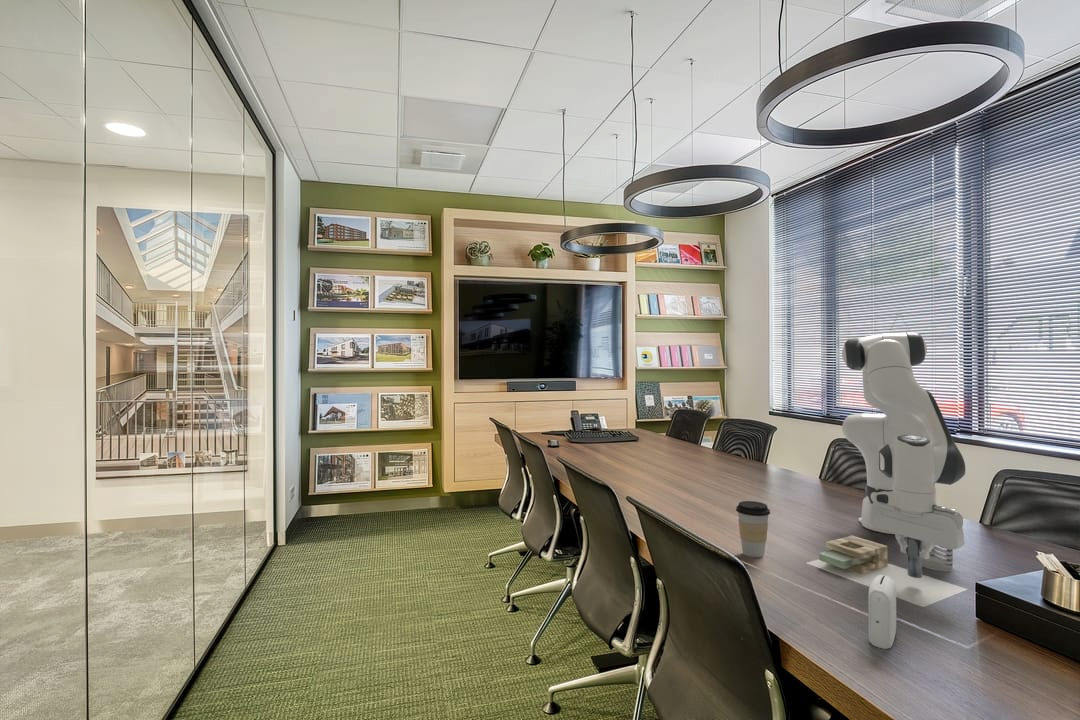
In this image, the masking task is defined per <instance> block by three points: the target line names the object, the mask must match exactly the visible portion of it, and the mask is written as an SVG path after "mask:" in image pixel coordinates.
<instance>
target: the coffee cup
mask: <svg viewBox="0 0 1080 720" xmlns="http://www.w3.org/2000/svg"><path fill="white" fill-rule="evenodd" d="M735 511H736V512H737V513H738V528H739V537H740V540H741V549H742V555H745V556H746V557H750V558H763V557H765V551H766V542H767V538H768V537H767V536H768V527H769V526H768V525H769V522H768V520H769V515H770V514H771V512H770V509H769V508H768V505H767V504H766V503H763V502H760V501H752V500H751V501H750V500H745V501H744V500H743V501H739V503H738V505H737V506H736V509H735Z"/></svg>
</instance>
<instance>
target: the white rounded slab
mask: <svg viewBox="0 0 1080 720" xmlns="http://www.w3.org/2000/svg"><path fill="white" fill-rule="evenodd" d="M867 599H868V640H869V643H871V645H872V646H874V647H875V648H879V649H884V650H888V649H891V648H892V646H893V644H894V641H895V637H896V633H897V597H896V585H895V583H894V581H893V580H892V579H891V578H890V577H888V576H883V575H878V576H876V577H875V578H874V579H873V580H872V582H871V584H870V587H869V588H868V598H867Z"/></svg>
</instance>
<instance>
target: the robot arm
mask: <svg viewBox="0 0 1080 720" xmlns="http://www.w3.org/2000/svg"><path fill="white" fill-rule="evenodd" d="M927 347H928V346H927V344H926V341H925V340H924V338H923V336H922V335H921V334H919V333H918V332H911V331H909V332H907V331H906V332H904V333H903V332H896V333H895V332H893V333H892V332H891V333H890V332H889V333H881V334H875V335H868V336H863V337H858V336H857V337H853V338H849V339H848V340H846V341H845V342H844V345H843V347H842V352H841V355H842V360H843V362H844V363H845V365H846V367H847V368H849V369H850V370H852V371H853V370H854V371H862V388H863V398H864V400H865V401H866V403H867V404H868V405H870V406H871V407H872V408H874V409H876V410H879V411H881V412H882V413H866V412H864V413H863V412H862V413H861V412H860V413H854V414H849V415H848V416H847V417H845V418H844V419H843V422H842V426H841V427H842V433H843V435H844V437H845V439H846V440H847V441H848V442H849V443H851V444H853V445H854V446H855V447H856V448H857V450H858V451H859V452H860V453H861V455H862V457H863V460H864V462H865V469H866V484H865V488H864V489H865V495H866V496H865V497H864V498H863V500H862V504H861V505H862V507H861V517H858V522H859V523H861V525H862V527H864V528H866V529H868V530H872V531H873V532H879V533H883V534H891V535H894V536H895V539H896V541H897V544H899V547H900V548H899V549H900V552H902V553H904V554H907V541H906V540H905V538H907V537H910V538H914V539H917V540H921V541H924V546H926V548H925V549H924V550H920V551H919V554H920V555H919V557H920V558H923V559H926V560H927V559H929V557H930V552H932V551H931V550H932V549H933V547H934V546H938V545H939V546H938V547H940V546H942V547H946V548H950V549H953V550H958V549H961V548H963V547H964V546H965V536H964V535H965V534H964V529H963V526H964V517H963V515H961V514H960V513H959V512H958V511H957V510H955V509H953V508H948V507H944V506H941V505H937V488H936V485H935V486H934V482H935V484H941V485H942V484H943V485H948V486H951V485H953V484H956V483H957V482H959V481H960V480H961V479H962V478H963V477H964V476H965V475H966V462H965V460H964V457H963V455H962V452H961V451H960V449H959V447H957V445H956V442H955V441H954V439H953V437H952V435H951V432H950V429H949V427H948V425H947V423H946V420H945V418H944V415H943V414H942V411H941V409H940V407H939V405H938V403H937V401H936V399H935V397H934V395H933V394H932V393H931V391H929V390H927V389H924V388H923V387H922V386H921V385H920V384H919V383H918V382H917V380H916V378H915V376H914V371H913V368H912V367H913V366H914V367H915V366H918V365H921V364H923V362H924V361H925V359H926V356H927V353H928V348H927ZM942 547H941V548H942ZM946 548H945V549H946Z"/></svg>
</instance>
